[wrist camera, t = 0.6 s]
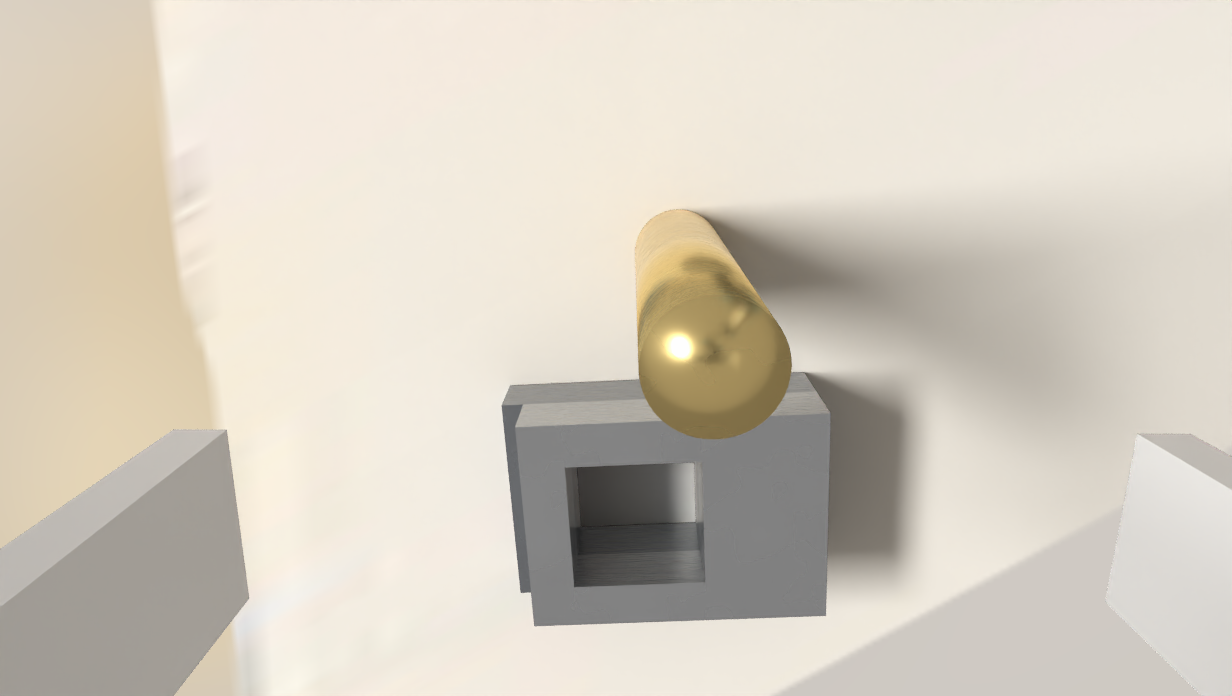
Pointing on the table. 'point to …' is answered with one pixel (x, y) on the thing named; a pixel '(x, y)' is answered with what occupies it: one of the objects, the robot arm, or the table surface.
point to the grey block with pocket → (675, 552)
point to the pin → (704, 332)
